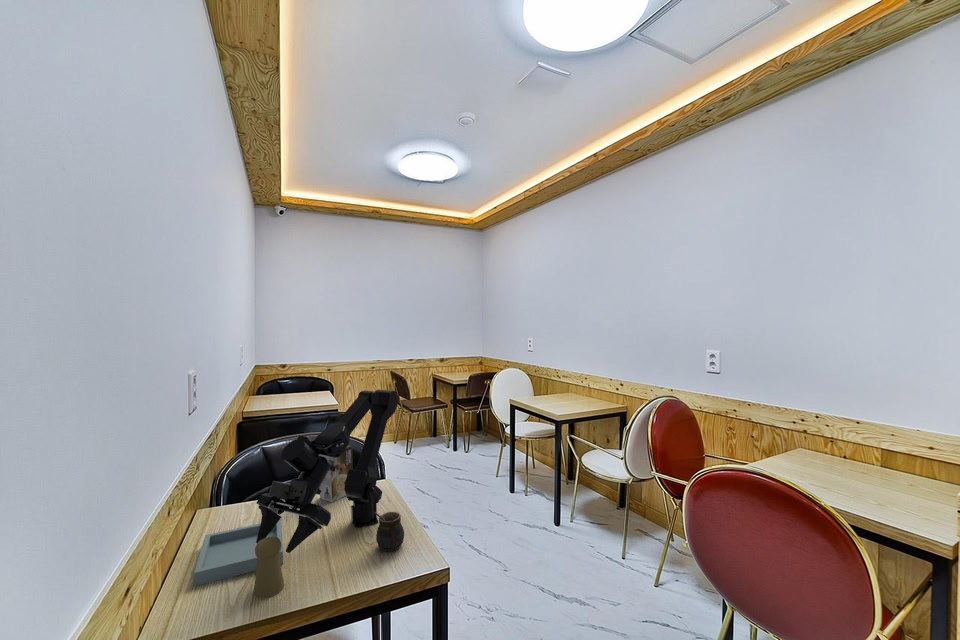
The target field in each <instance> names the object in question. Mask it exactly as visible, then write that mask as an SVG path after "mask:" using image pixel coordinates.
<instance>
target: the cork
mask: <svg viewBox="0 0 960 640" xmlns="http://www.w3.org/2000/svg"><path fill="white" fill-rule="evenodd" d="M280 550H281V541H280V539H279V538H277V537H267V538H264V539H262V540H260V541H259V542H258V543H257V545H256V547H255V554H256V557H257V558H258V561H257V569H256V571H255V579H254V587H253V596H254V597H255V598H256V599H260V600H261V599H268V598H272V597H274V596H276V595H278V594H279V593H280V592H282V590H283V589H284V587H285V582H284V577H283V571H282V564H280V558H279V552H280Z"/></svg>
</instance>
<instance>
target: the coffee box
mask: <svg viewBox="0 0 960 640" xmlns="http://www.w3.org/2000/svg"><path fill="white" fill-rule="evenodd" d="M318 456H321V455H318ZM322 457H325V458H326V459H327V460H332V461H334V466H335V472H331V471H328V473H327V474H326V476H325V478H324V480H323V482H322V484H321V486H320V487H319V489H320V490H321V493H320V495H319V499H321V500H324V501H327V502H330V503H333V502H336V501H338V500H340V499H342V498H344V497H347V495H346V493H345V491H344V487H345V484H344V482H345V480H346V478H347V473H348V471H349V469H354V465H353V464H354V463H353V462H354V461H353V459H354V458H353V445H350V444H348V446H347V447H346V449H345V451H344V453H343V454H342V455H341V456H340V457H336V458H334V457H328V456H322Z"/></svg>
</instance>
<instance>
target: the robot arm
mask: <svg viewBox="0 0 960 640" xmlns="http://www.w3.org/2000/svg"><path fill="white" fill-rule="evenodd" d="M399 403H400V396H399V395H398V392H397V391H395V390H391V389H376V390H375V391H374V390H366V389H363V390H362V391H359V393H358V395H357V398H356V399H354V401H353V402H352V404H351V405H350V406H348V408H347V409H346V411H345V412H344V413H343V414H342V415H341V416H340V418H339V419H338V420H337V421H336V422H335V423H334V424H333V425H330V426H328V427H326V428H324V429H323V430H322V431H321V432H320V433H318V435H316V437H315V438H314V439H313V440H310V439H309V438H308V436H306V435H301V434H300V435H298V437H296V438H297V439H293V440H292V441H290V442H289V443H288V444H287V445H285V446H284V448H283V449H282V452H281V459H282V460H283V461H284V462H285V463H287V464H288V465H289V466H291V467H292V468H293V469H294V470H295V471H297V472H299V473H300V474H299V475H298V477H293V478H292V479H291V480H290V482H283V481H276V480H272V483H271V486H270V488H269V492H265V493H263V494H260V496H259V498H258V499H257V501H256V502H255V503H256V504H257V505H258V509H259V510H260V513H261V520H260V523H259V524H260V528H259V532H258V536H257V540H256V543H258V542H259V541H260V540H262V539H264V538H266V537H267V535H268V534H269V533H270V532H271V530H272V529H273V528H274V526H275V525H276V524H277V523H278V521H279V520H280V519H281V520H282V516H281V515H282V514H283V513H284V512H286V513H287V512H288V513H291V514H296V515H297V516H298V520H297V521H298V523H297V526H296V529H295V531H293V534H292V536H291V538H290V540H289V542H288V544H287V546H286V548H285V552H286V553H288V554H290V553H291V552H293V551H294V550H295V549H296V548H297V547H298V546H300V544H301V543H302V542H304V541H305V540H306V539H307V538H309V537H310V536H312V534H314V533H315V532H316V531H317V530H322V529H323V527H328V526H329V523H330V521H331V519H332V515H331V514H332V513H331V512H330V511H329V510H327V509H326V508H325V507H324V506H323V505H320V504H315V503H312V502H313V501H314V499H315V497H316V495H318V496H320V493H321V490H320V486H321V484H322V482H323V480H324V478H325V476H326V474H327V473H328V471H331V472H335V466H334V461H332V460H327V459H326V458H325V457H322V456H328V457H334V458H336V457H340V456H341V455H342V454H343V453H344V451H345V449H346V447H347V446H348V445H350V440H351V439H350V438H351V435H352V433H353V432H354V430H355V429H356V427H357V426H358V425H359V424H360V422H361V421H362V420H363V418H364V417H366V415H367V413H368V412H369V411H370V414H371V417H370V420H369V424H368V428H367V430H366V431H367V432H366V433H365V434H366V435H365V439H364V442H363V445H362V449H361V453H360V455H359V458H358V463H357V464H356V465H355V467H353V469H349V471H348V473H347V478H346V480H345V482H344V484H345V487H344V491H345V493H346V498H347V501H349V502H350V501H351V502H352V505H350V517H351V518H350V519H351V523H352V524H353V525H354V527H355V528H361V527H365V526H369V525H374V524H379V518H378V516H377V515H376V514H375V513H374V512H376V513H377V514H378V511H377V510H378V507H377V505H378V503H379V502H380V500H381V499H382V496H383V490H381V489H380V487H378V486H377V480H378V476H377V472H376V468H375V467H376V464H377V460H378V456H379V453H380V449H381V445H382V443H383V442H382V441H383V438H384V434H385V431H386V427H387V423H388V420H389V419H390V418H391V417H392V416H393V415H394V414H395V413H396V410H397V408H398V405H399ZM319 455H321V456H319Z"/></svg>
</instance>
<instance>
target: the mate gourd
mask: <svg viewBox="0 0 960 640" xmlns="http://www.w3.org/2000/svg"><path fill="white" fill-rule="evenodd" d="M374 513H375V514H376V515H377V518H378V527H377V530H376V535H375V537H376V539H375V540H376V543H377V546H378V548H379V549H380V550H382V551H384V552H395V551H396V550H398V549H399V548H400V547H401V546H402V544H403V543H404V538H405V530H404V527H403V525H402V522H401V521H402V520H401V518H402V515H401V513H399V512H397V511H388V512H385V513H382V514H381V515H380V514H379V513H378V512H377V513H376V512H374Z"/></svg>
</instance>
